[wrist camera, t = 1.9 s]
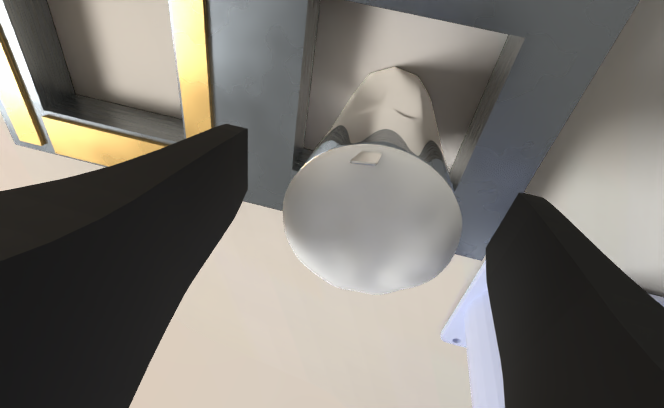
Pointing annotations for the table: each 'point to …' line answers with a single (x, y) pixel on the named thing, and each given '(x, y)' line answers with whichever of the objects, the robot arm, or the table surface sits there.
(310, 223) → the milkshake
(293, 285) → the table surface
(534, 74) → the grey slotted plate
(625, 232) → the table surface
